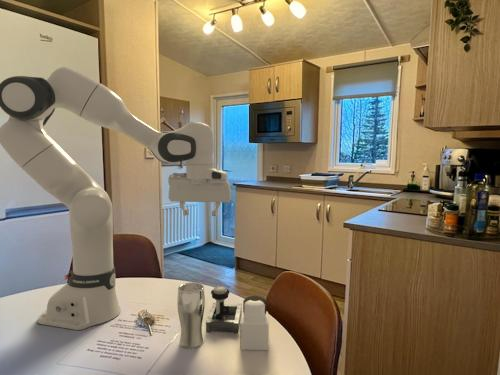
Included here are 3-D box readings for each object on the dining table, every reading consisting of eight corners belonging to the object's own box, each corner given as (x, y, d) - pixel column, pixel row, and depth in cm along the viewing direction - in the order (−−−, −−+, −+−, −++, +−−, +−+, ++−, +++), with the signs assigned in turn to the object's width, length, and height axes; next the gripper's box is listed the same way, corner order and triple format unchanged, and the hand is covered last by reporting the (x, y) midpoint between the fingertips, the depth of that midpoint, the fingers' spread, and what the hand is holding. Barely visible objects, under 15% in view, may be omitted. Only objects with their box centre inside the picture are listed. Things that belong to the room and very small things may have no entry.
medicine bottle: (241, 335, 92) (241, 292, 91) (267, 335, 92) (268, 293, 91) (240, 350, 85) (240, 304, 84) (268, 351, 85) (269, 305, 84)
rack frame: (206, 332, 93) (206, 322, 93) (213, 312, 105) (213, 303, 105) (238, 333, 93) (238, 323, 93) (241, 313, 105) (241, 304, 104)
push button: (222, 329, 95) (222, 294, 94) (205, 325, 97) (205, 291, 96) (232, 318, 101) (232, 286, 100) (216, 315, 103) (216, 283, 102)
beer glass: (192, 353, 84) (192, 295, 82) (172, 344, 87) (171, 288, 86) (210, 340, 90) (210, 285, 88) (190, 332, 93) (190, 280, 92)
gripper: (165, 173, 106) (166, 216, 108) (229, 174, 105) (229, 217, 107) (171, 172, 113) (171, 213, 114) (232, 173, 112) (231, 214, 113)
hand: (200, 215), depth 110 cm, fingers open, 8 cm apart
